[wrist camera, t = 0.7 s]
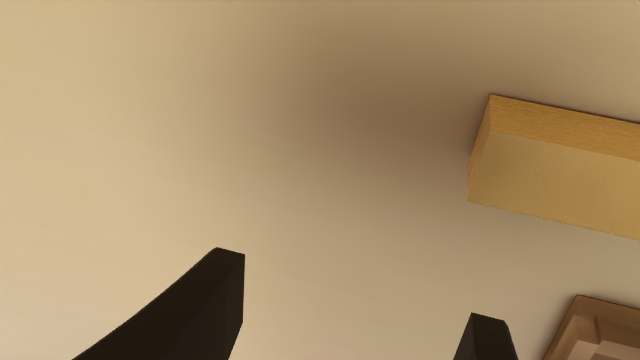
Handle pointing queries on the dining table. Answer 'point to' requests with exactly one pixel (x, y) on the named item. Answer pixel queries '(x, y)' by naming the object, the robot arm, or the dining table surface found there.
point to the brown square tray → (597, 332)
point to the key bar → (558, 166)
